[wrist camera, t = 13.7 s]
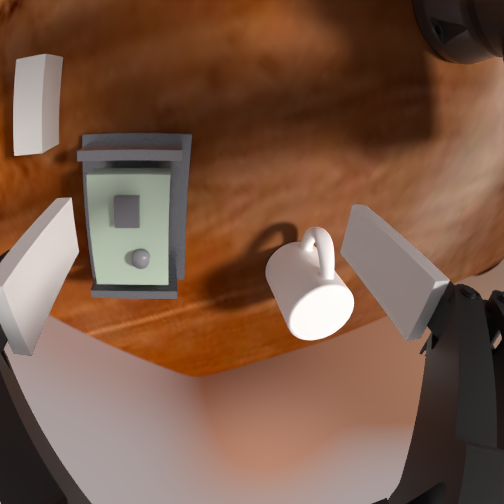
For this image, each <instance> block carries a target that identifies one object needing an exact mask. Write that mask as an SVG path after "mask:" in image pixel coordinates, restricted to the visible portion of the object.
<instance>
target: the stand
mask: <svg viewBox="0 0 504 504" xmlns="http://www.w3.org/2000/svg"><path fill="white" fill-rule="evenodd" d="M62 64H63V57H60V56H56V55H50V54H41V55H35V56H30V57H25V58H20V59H16V69H15V82H14V102H13V139H14V156H19V155H29V154H41V153H44V152H45V151H47V150H49V149H51V148H52V147H54V146H56V145H58V144H59V107H60V88H61V75H62Z"/></svg>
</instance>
